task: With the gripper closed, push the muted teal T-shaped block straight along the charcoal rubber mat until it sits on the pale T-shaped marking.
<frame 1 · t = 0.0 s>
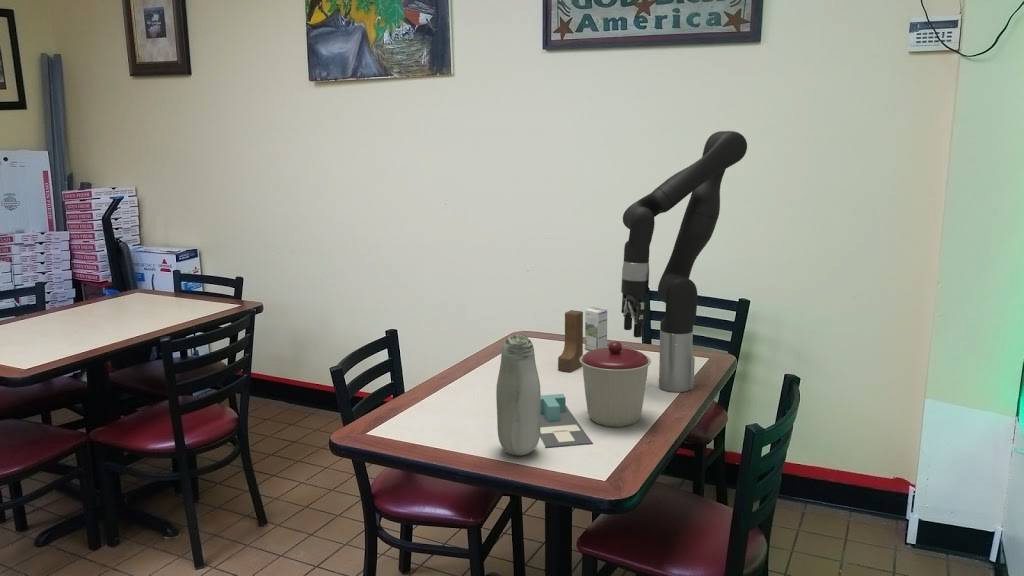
hand: (632, 333, 213), 17 cm above the table, tool pointing down, fingers open, 8 cm apart
t block: (550, 415, 197), resting on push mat
syrup box: (596, 350, 259), on the table
wooden block: (570, 368, 238), on the table
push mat: (555, 424, 191), on the table
glass bottle: (519, 453, 175), on the table
canister: (614, 421, 194), on the table
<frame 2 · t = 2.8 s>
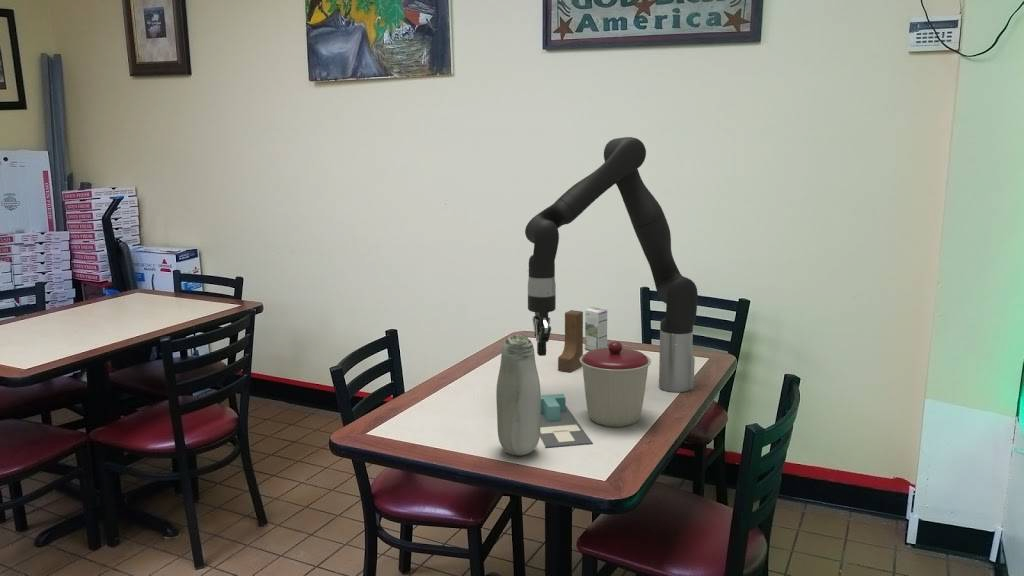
hand: (541, 354, 204), 14 cm above the table, tool pointing down, fingers closed
nothing on the table moved.
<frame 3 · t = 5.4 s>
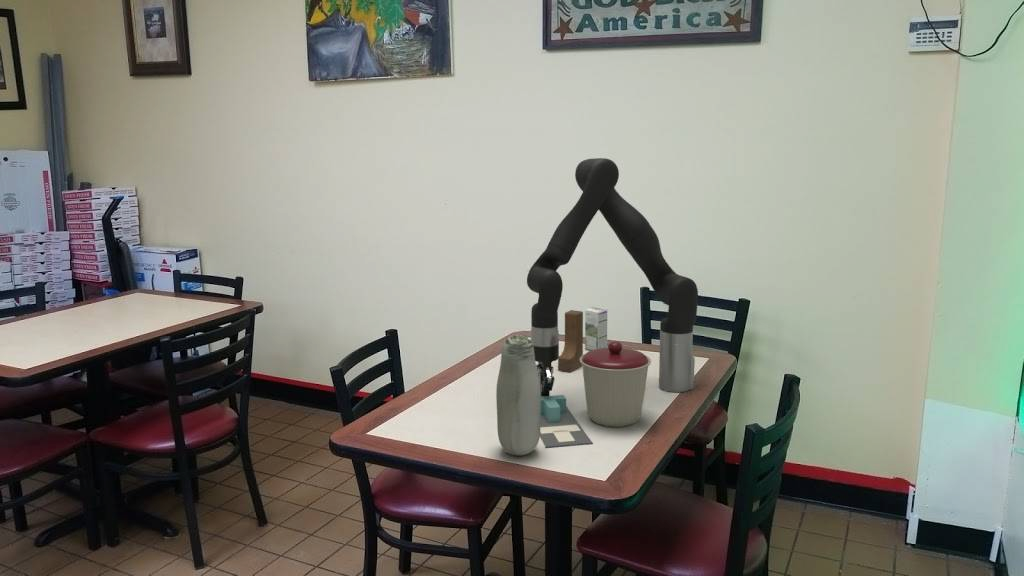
hand: (545, 403, 203), 2 cm above the table, tool pointing down, fingers closed
t block: (550, 416, 196), resting on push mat, touching gripper
everything else where it was.
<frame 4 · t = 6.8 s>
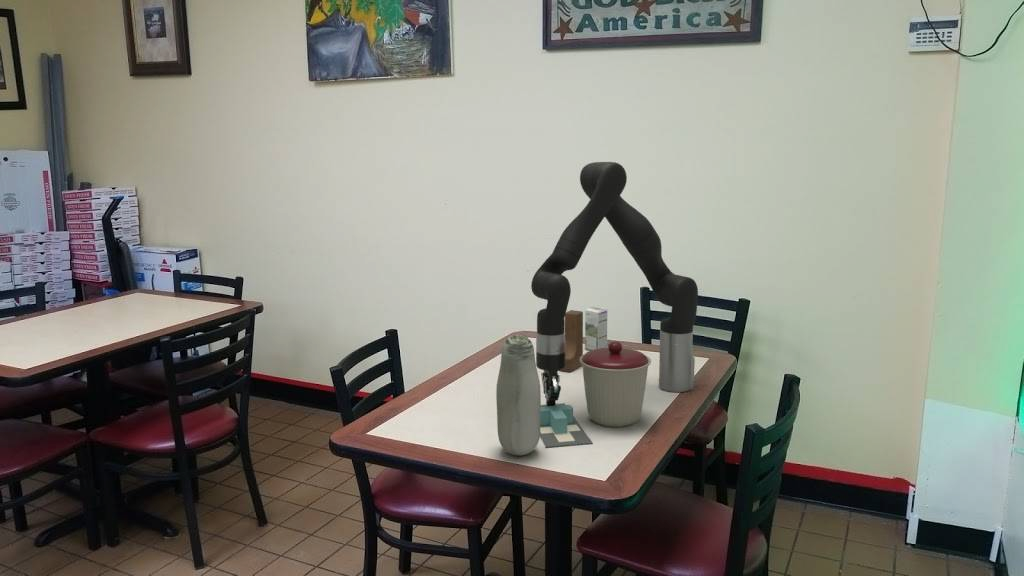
hand: (550, 413, 195), 2 cm above the table, tool pointing down, fingers closed
t block: (557, 427, 189), resting on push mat, touching gripper
everything else where it was.
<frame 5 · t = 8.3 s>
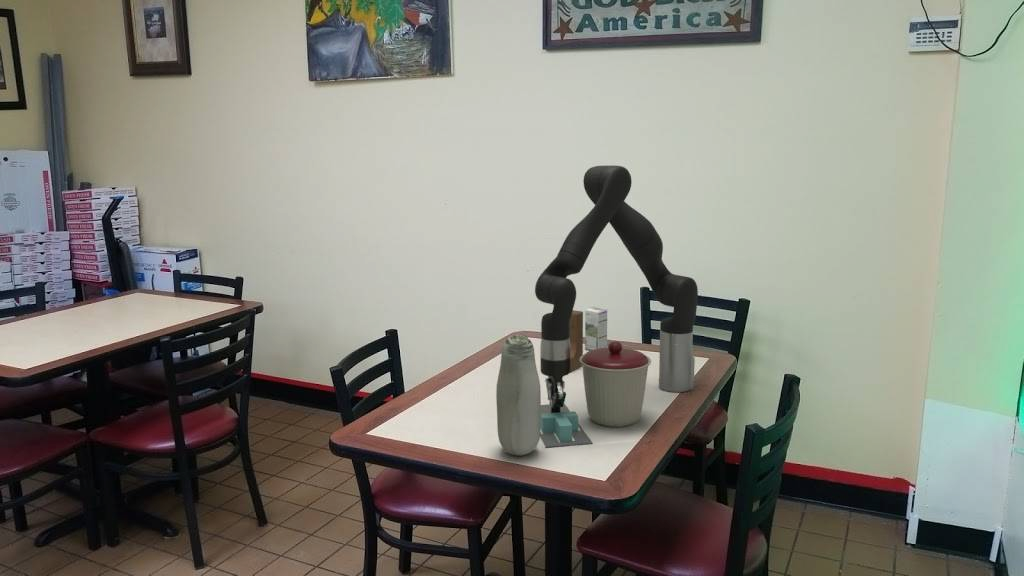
hand: (555, 419, 190), 2 cm above the table, tool pointing down, fingers closed
t block: (561, 434, 184), resting on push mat, touching gripper
everything else where it was.
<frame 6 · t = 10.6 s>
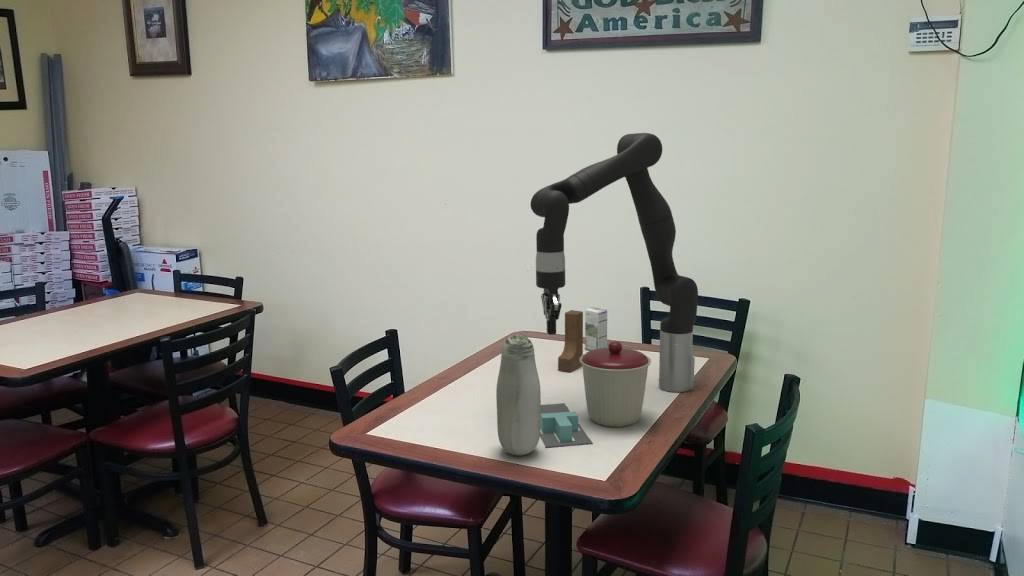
hand: (551, 333, 194), 22 cm above the table, tool pointing down, fingers closed
t block: (561, 434, 184), resting on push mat
everything else where it was.
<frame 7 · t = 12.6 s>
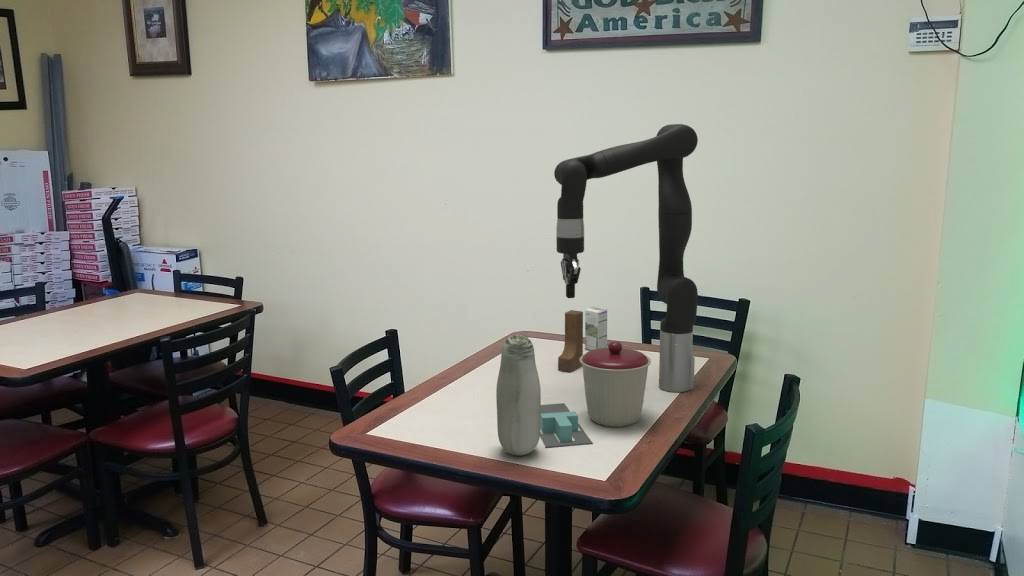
hand: (570, 297, 205), 29 cm above the table, tool pointing down, fingers closed
nothing on the table moved.
at the end: t block 0.5 cm from the target spot, resting on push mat; t block tilted 0° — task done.
